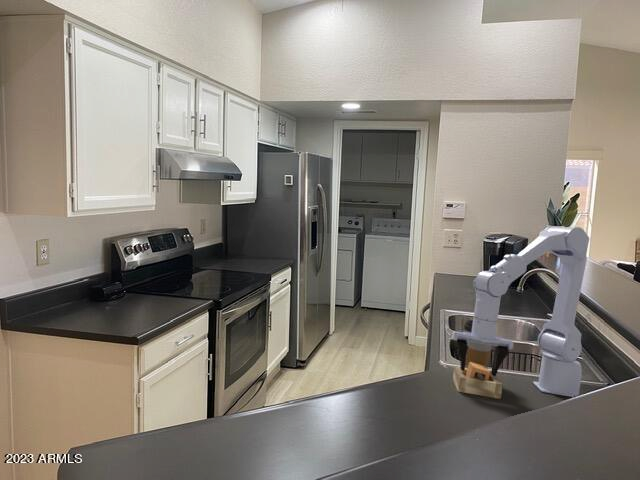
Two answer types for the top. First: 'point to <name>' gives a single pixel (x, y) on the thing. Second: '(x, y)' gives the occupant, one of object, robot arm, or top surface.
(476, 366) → the orange u-channel
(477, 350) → the coffee cup
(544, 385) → the robot arm
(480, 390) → the shelf block
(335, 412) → the top surface
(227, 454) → the top surface
